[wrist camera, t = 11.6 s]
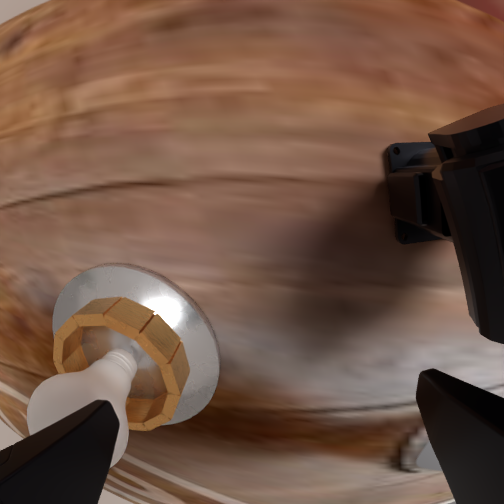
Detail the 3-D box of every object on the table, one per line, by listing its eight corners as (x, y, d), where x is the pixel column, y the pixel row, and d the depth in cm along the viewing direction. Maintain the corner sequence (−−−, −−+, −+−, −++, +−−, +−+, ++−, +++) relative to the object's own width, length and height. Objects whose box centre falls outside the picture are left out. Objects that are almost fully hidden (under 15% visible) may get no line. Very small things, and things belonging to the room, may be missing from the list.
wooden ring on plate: (199, 250, 20) (183, 267, 16) (235, 417, 23) (230, 452, 19) (39, 273, 21) (9, 289, 18) (92, 412, 24) (74, 438, 20)
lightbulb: (93, 376, 22) (24, 465, 11) (89, 311, 21) (-6, 394, 10) (162, 398, 22) (113, 508, 11) (166, 333, 21) (97, 446, 10)
